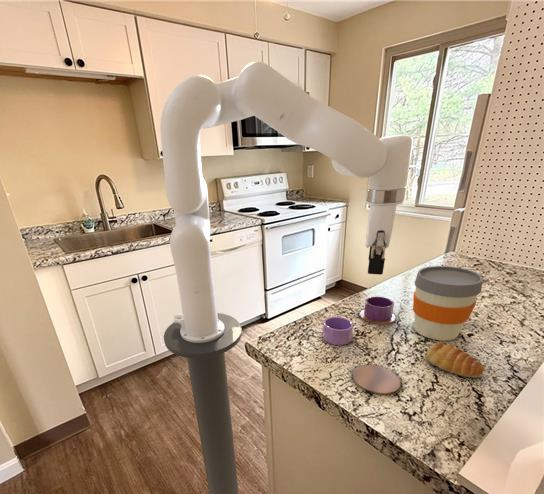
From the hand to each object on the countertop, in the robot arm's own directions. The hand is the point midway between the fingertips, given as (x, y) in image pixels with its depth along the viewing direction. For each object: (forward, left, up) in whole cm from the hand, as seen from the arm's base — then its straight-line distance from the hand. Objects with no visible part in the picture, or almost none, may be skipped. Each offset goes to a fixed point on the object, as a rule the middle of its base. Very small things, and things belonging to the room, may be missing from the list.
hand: (375, 266), depth 78 cm
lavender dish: (-7, -11, -16) cm, 20 cm away
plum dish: (+2, +3, -15) cm, 16 cm away
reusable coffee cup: (+15, -1, -16) cm, 22 cm away
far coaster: (+2, +3, -16) cm, 16 cm away
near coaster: (+2, -25, -16) cm, 29 cm away
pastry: (+16, -15, -16) cm, 27 cm away
